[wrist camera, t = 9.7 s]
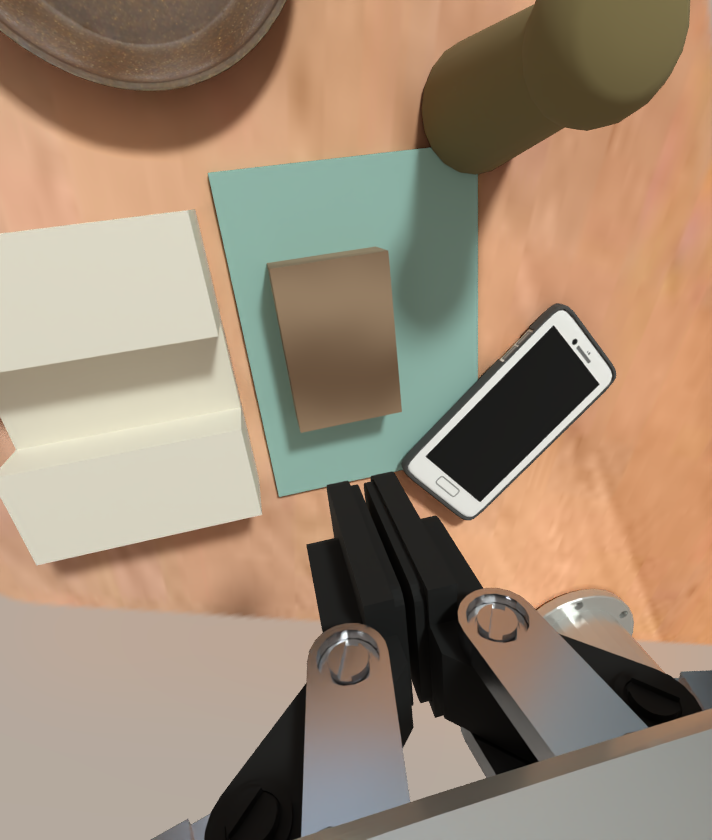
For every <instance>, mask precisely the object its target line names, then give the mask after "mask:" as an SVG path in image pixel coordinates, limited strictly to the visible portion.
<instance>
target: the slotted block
mask: <svg viewBox="0 0 712 840" xmlns="http://www.w3.org/2000/svg"><path fill="white" fill-rule="evenodd" d="M0 417H1V419H2V422H3V424H4V426H5V428H6V430H7V432H8V434H9V436H10V438H11V440H12V442H13V444H14V446H15V448H16V451H15V452H14V453H13V454H12V455H11V456H10V457H9V459H8V460H7V461H6V462H5V463H4V464H3V465H2V466H1V468H0V497H1V499H2V501H3V503H4V505H5V507H6V508H7V510H8V512H9V514H10V516H11V518H12V520H13V522H14V524H15V525H16V527H17V529H18V531H19V533H20V535H21V537H22V539H23V541H24V542H25V544H26V546H27V548H28V550H29V552H30V554H31V556H32V558H33V560H34V561H35V563H36V565H41V564H45V563H49V562H54V561H58V560H63V559H67V558H72V557H76V556H81V555H85V554H90V553H94V552H98V551H103V550H107V549H112V548H116V547H121V546H125V545H130V544H134V543H139V542H143V541H147V540H152V539H156V538H161V537H165V536H170V535H174V534H179V533H183V532H188V531H192V530H196V529H201V528H205V527H210V526H214V525H219V524H223V523H228V522H232V521H237V520H241V519H245V518H250V517H254V516H259V515H262V510H261V497H260V484H259V476H258V472H257V468H256V464H255V459H254V455H253V451H252V447H251V443H250V438H249V434H248V430H247V426H246V421H245V417H244V413H243V409H242V405H241V400H240V396H239V392H238V388H237V383H236V379H235V375H234V371H233V367H232V362H231V358H230V354H229V350H228V346H227V341H226V337H225V333H224V329H223V324H222V320H221V316H220V312H219V308H218V303H217V299H216V295H215V291H214V287H213V282H212V278H211V274H210V270H209V265H208V261H207V257H206V253H205V249H204V244H203V240H202V236H201V232H200V227H199V223H198V219H197V215H196V211H195V209H193V210H185V211H177V212H169V213H161V214H153V215H145V216H137V217H129V218H121V219H113V220H105V221H97V222H89V223H81V224H73V225H65V226H57V227H49V228H41V229H32V230H24V231H16V232H8V233H0Z"/></svg>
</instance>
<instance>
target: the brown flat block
mask: <svg viewBox="0 0 712 840" xmlns="http://www.w3.org/2000/svg"><path fill="white" fill-rule="evenodd" d="M267 268H268V273H269V278H270V283H271V289H272V294H273V299H274V304H275V309H276V315H277V320H278V325H279V330H280V335H281V340H282V346H283V351H284V356H285V361H286V366H287V371H288V377H289V382H290V387H291V392H292V397H293V403H294V408H295V413H296V417H297V421H298V425H299V428H300V432H301V433H303V432H308V431H313V430H317V429H322V428H327V427H332V426H337V425H342V424H346V423H351V422H356V421H361V420H366V419H370V418H375V417H380V416H385V415H390V414H394V413H399V412H402V406H401V394H400V382H399V370H398V358H397V347H396V335H395V323H394V311H393V299H392V287H391V276H390V264H389V252H388V250H385V249H382V248H379V247H376V246H375V247H369V248H362V249H356V250H349V251H343V252H336V253H330V254H323V255H317V256H310V257H304V258H297V259H290V260H284V261H277V262H271V263H267Z"/></svg>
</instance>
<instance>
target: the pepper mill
mask: <svg viewBox="0 0 712 840" xmlns="http://www.w3.org/2000/svg"><path fill="white" fill-rule="evenodd" d="M689 15H690V0H536V2H535V4H534V5H532V6H530V7H528V8H526V9H524V10H522V11H520V12H518V13H516V14H514V15H512V16H510V17H508V18H506V19H504V20H502V21H500V22H498V23H496V24H494V25H492V26H490V27H488V28H486V29H484V30H482V31H480V32H478V33H476V34H474V35H472V36H470V37H468V38H466V39H464V40H462V41H460V42H459V43H457V44H456V45H454V46H453V47H451V48H450V49H448V50H446V51H445V52H444V53H443V55H442V56H441V57H440V58H439V60H438V61H437V62H436V64H435V65H434V66H433V67H432V69H431V72H430V74H429V77H428V79H427V82H426V85H425V87H424V93H423V101H422V117H423V125H424V132H425V134H426V136H427V138H428V141H429V143H430V145H431V148H432V150H433V151H434V152H435V153H436V155H437V156H438V157H439V158H440V159H441V160H442V162H443V163H444V164H446V165H447V166H449V167H451V168H453V169H454V170H456V171H458V172H461V173H468V174H475V175H476V174H480V173H484V172H489V171H492V170H494V169H495V168H497V167H499V166H500V165H502V164H504V163H506V162H507V161H509V160H511V159H512V158H514V157H516V156H517V155H519V154H521V153H522V152H524V151H526V150H527V149H529V148H531V147H532V146H534V145H536V144H538V143H539V142H541V141H543V140H544V139H546V138H548V137H549V136H551V135H553V134H554V133H556V132H558V131H559V130H561V129H563V128H565V127H566V128H572V129H577V130H586V131H588V130H592V129H596V128H601V127H605V126H609V125H612V124H616V123H619V122H620V121H622V120H623V119H625V118H626V117H628V116H629V115H631V114H633V113H634V112H636V111H637V110H639V109H640V108H641V107H643V106H644V105H646V104H647V103H648V102H649V101H650V100H651V99H652V98H653V96H654V95H655V94H656V93H657V92H658V91H659V89H660V88H661V87H662V86H663V85H664V84H665V82H666V80H667V79H668V77H669V76H670V74H671V73H672V71H673V69H674V67H675V65H676V63H677V61H678V59H679V57H680V55H681V53H682V51H683V47H684V43H685V39H686V36H687V32H688V28H689Z"/></svg>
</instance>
